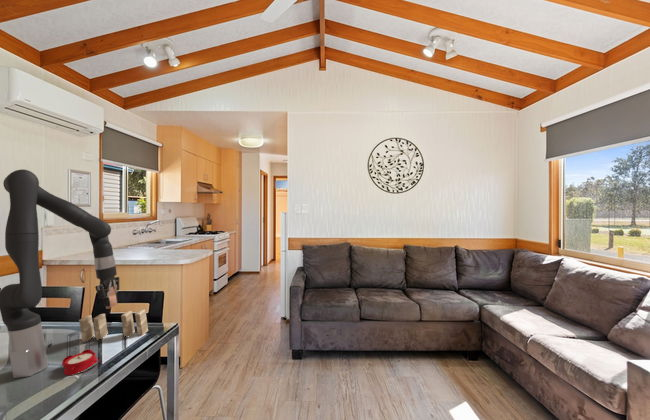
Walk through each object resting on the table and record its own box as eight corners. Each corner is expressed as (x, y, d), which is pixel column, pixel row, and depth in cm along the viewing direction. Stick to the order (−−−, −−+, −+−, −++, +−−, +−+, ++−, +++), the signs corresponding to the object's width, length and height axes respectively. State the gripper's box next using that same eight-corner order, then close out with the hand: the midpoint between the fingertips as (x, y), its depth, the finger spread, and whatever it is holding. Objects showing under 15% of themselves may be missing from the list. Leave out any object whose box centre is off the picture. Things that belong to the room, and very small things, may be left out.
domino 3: (134, 331, 151) (131, 310, 150) (128, 337, 146) (125, 315, 145) (130, 332, 151) (127, 311, 150) (124, 337, 146) (121, 315, 145)
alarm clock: (65, 370, 114) (57, 349, 124) (67, 386, 116) (59, 363, 126) (101, 357, 122) (90, 338, 132) (102, 372, 123) (92, 352, 133)
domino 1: (94, 336, 150) (91, 315, 150) (87, 341, 145) (83, 319, 145) (90, 336, 150) (86, 315, 150) (82, 341, 145) (79, 320, 145)
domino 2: (108, 334, 151) (105, 313, 150) (101, 339, 146) (97, 318, 145) (103, 335, 151) (100, 314, 150) (96, 340, 146) (93, 318, 145)
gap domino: (106, 308, 145) (102, 286, 144) (112, 304, 150) (109, 283, 149) (110, 308, 145) (107, 286, 144) (117, 304, 150) (114, 282, 149)
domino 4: (148, 330, 151) (145, 309, 151) (142, 335, 146) (139, 313, 146) (143, 331, 151) (140, 309, 150) (138, 336, 146) (135, 314, 145)
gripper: (106, 263, 153) (112, 298, 154) (85, 271, 138) (92, 310, 140) (123, 261, 153) (128, 297, 155) (104, 269, 139) (110, 308, 140)
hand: (111, 303), depth 147 cm, fingers closed on gap domino, 5 cm apart
